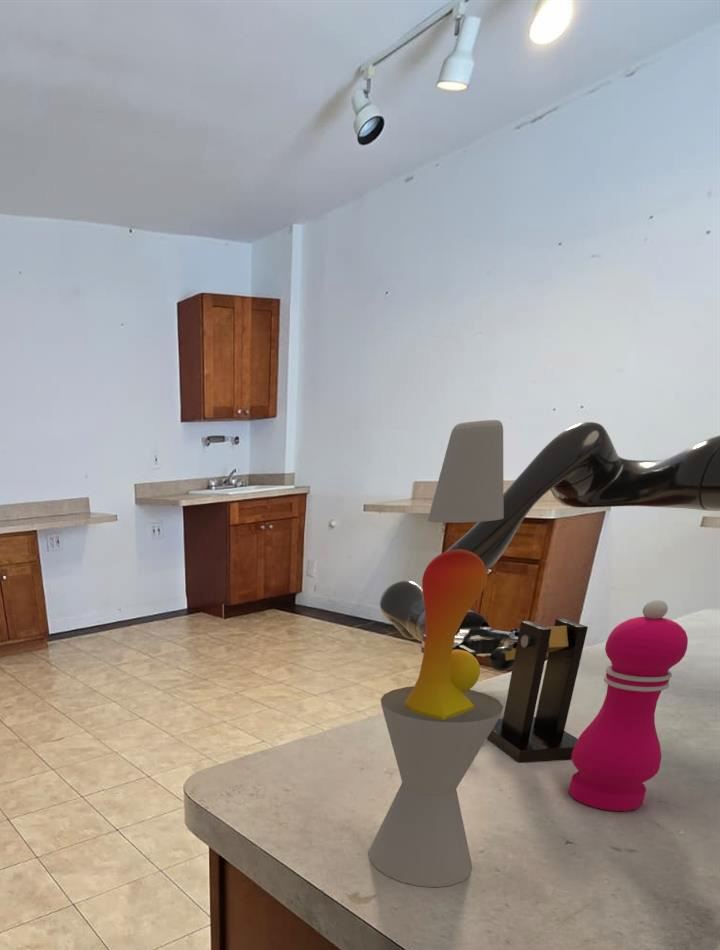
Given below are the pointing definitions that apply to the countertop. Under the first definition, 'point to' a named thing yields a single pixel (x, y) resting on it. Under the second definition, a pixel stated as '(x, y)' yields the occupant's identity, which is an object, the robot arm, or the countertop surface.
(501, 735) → the switch bracket
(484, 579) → the lava lamp
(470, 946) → the countertop surface
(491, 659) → the switch lever
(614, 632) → the pepper mill
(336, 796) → the countertop surface
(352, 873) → the countertop surface
